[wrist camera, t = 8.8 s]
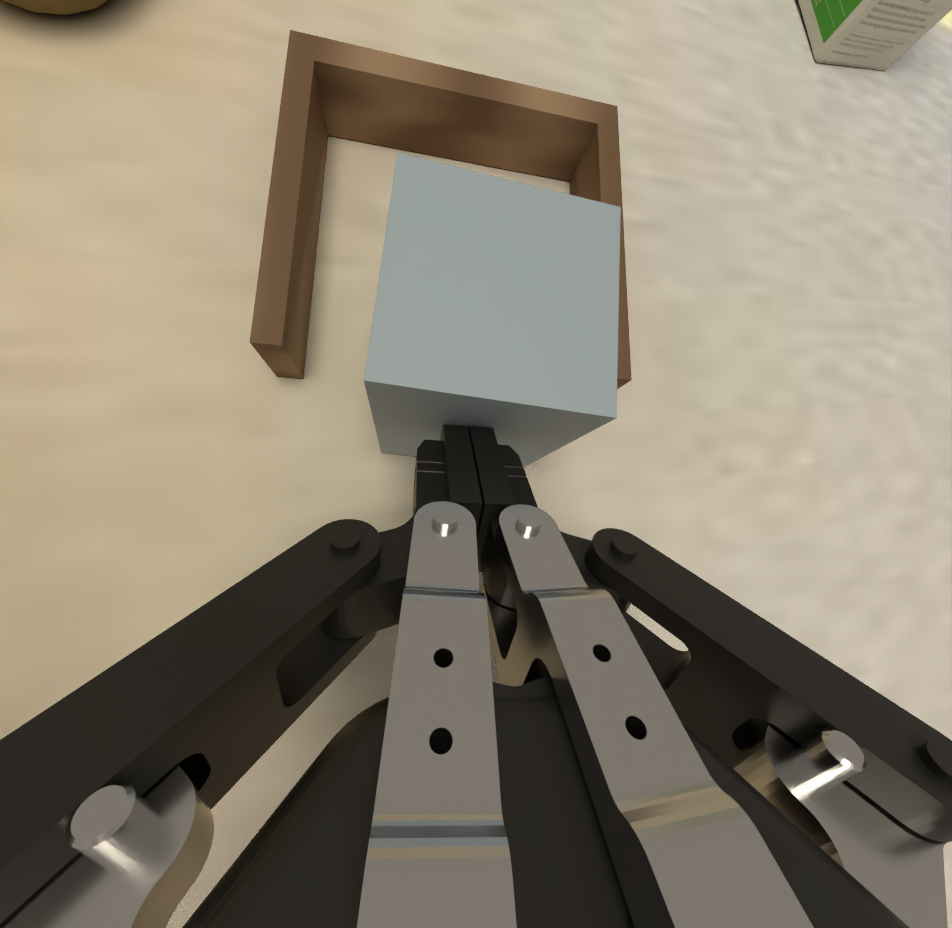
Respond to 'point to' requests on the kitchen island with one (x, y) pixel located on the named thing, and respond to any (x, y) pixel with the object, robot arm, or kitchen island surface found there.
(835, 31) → the skincare box
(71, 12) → the squeeze bottle
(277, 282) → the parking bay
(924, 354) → the kitchen island surface
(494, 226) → the slate block
